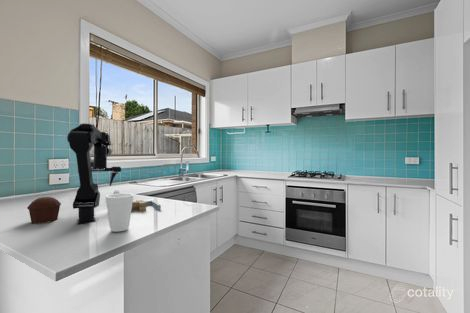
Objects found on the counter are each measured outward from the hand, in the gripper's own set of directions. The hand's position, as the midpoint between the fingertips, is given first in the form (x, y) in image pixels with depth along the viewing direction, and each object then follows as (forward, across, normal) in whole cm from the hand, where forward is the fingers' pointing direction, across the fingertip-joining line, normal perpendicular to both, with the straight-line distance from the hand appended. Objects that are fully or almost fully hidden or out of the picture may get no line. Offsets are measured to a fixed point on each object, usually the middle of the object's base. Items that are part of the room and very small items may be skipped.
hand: (100, 186), depth 114 cm
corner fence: (+13, -22, +10) cm, 27 cm away
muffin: (+13, +21, +5) cm, 25 cm away
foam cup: (+14, -3, +37) cm, 40 cm away
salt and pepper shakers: (+13, -7, +8) cm, 17 cm away
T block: (+13, -15, +9) cm, 22 cm away
